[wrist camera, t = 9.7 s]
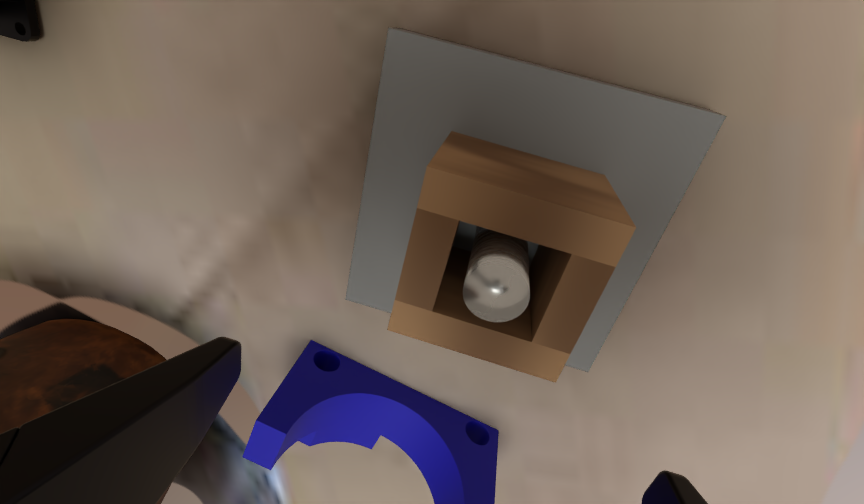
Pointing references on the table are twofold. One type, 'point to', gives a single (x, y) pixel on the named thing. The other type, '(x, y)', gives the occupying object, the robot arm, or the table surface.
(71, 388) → the brown pot
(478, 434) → the blue curved bracket
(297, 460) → the table surface
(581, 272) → the wooden hollow block
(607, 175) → the post stand
